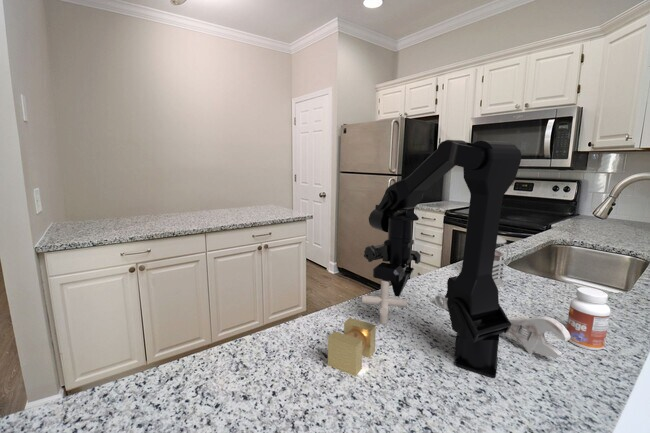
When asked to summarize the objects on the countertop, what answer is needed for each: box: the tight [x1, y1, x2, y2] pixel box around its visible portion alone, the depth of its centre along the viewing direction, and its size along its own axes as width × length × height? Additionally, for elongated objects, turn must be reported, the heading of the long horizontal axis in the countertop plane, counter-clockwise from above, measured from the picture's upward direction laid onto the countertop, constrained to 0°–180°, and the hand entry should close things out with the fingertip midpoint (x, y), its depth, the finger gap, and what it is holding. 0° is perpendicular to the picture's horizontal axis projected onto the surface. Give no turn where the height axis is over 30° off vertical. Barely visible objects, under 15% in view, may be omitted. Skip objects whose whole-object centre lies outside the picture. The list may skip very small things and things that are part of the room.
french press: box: [492, 234, 513, 289], centre depth 93 cm, size 10×12×25 cm
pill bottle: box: [565, 286, 611, 351], centre depth 62 cm, size 6×6×11 cm
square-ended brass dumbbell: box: [327, 317, 377, 377], centre depth 57 cm, size 8×6×6 cm, turn 148°
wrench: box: [434, 294, 571, 358], centre depth 67 cm, size 8×2×30 cm
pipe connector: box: [361, 279, 408, 325], centre depth 70 cm, size 10×10×10 cm
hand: (397, 296), depth 78 cm, fingers closed
